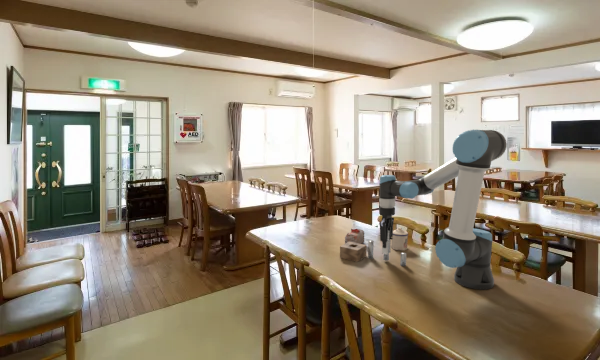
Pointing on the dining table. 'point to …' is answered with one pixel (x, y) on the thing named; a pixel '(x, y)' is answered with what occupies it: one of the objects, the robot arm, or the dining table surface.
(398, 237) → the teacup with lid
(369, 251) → the pin medium
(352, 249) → the hole block
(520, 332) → the dining table surface
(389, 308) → the dining table surface
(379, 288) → the dining table surface
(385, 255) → the pin long
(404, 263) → the pin short
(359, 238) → the food item
